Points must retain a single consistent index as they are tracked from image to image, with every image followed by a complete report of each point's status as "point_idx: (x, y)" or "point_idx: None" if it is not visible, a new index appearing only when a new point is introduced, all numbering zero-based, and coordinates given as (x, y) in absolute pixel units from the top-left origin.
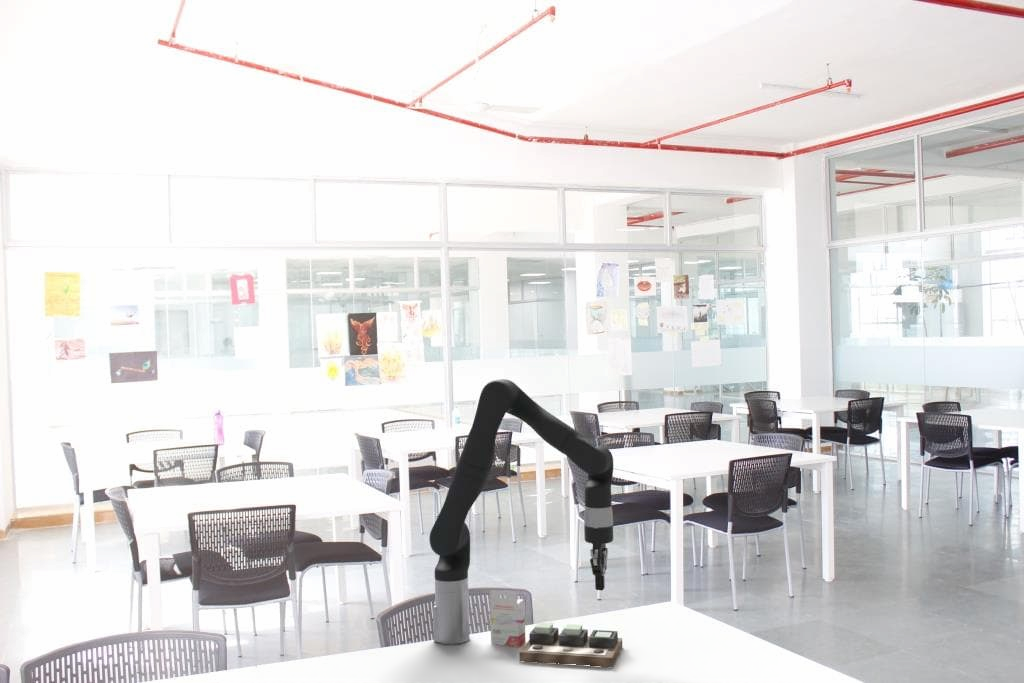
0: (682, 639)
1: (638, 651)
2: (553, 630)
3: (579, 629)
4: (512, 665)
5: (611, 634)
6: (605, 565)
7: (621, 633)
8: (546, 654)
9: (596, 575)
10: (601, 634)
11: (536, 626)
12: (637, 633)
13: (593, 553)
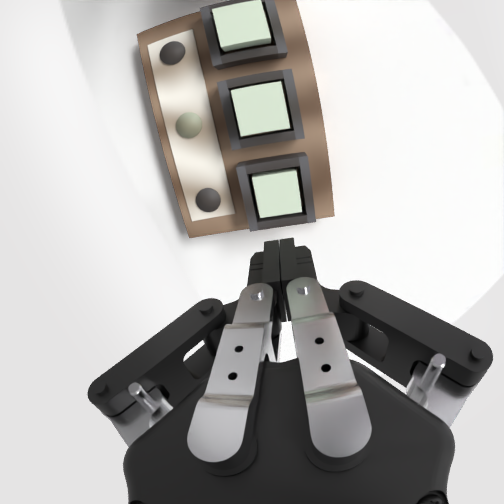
0: (397, 295)
1: (314, 245)
2: (257, 48)
3: (245, 135)
4: (123, 41)
5: (289, 212)
6: (352, 351)
7: (421, 180)
8: (149, 91)
9: (237, 303)
10: (274, 190)
11: (218, 10)
12: (425, 212)
13: (130, 446)
